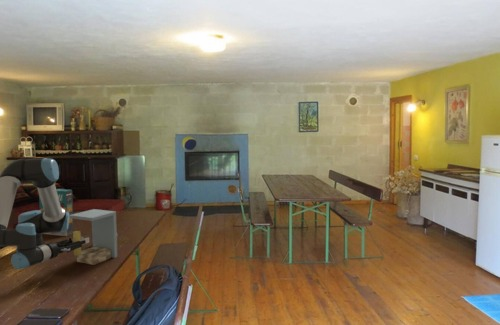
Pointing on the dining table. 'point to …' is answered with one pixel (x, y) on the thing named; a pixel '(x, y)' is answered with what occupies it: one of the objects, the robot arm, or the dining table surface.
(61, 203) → the cake mix box
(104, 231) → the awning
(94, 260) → the socket block
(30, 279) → the dining table surface
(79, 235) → the peg
